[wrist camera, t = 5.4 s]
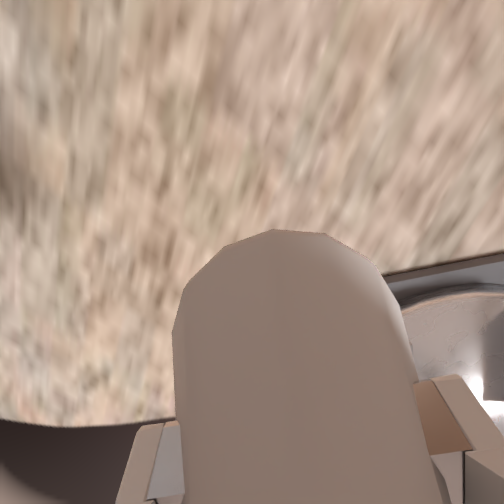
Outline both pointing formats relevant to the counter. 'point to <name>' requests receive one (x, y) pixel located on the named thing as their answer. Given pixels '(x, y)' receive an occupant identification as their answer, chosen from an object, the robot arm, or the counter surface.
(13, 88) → the counter surface
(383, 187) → the counter surface
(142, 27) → the counter surface
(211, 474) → the salt shaker
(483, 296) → the studded metal disc
